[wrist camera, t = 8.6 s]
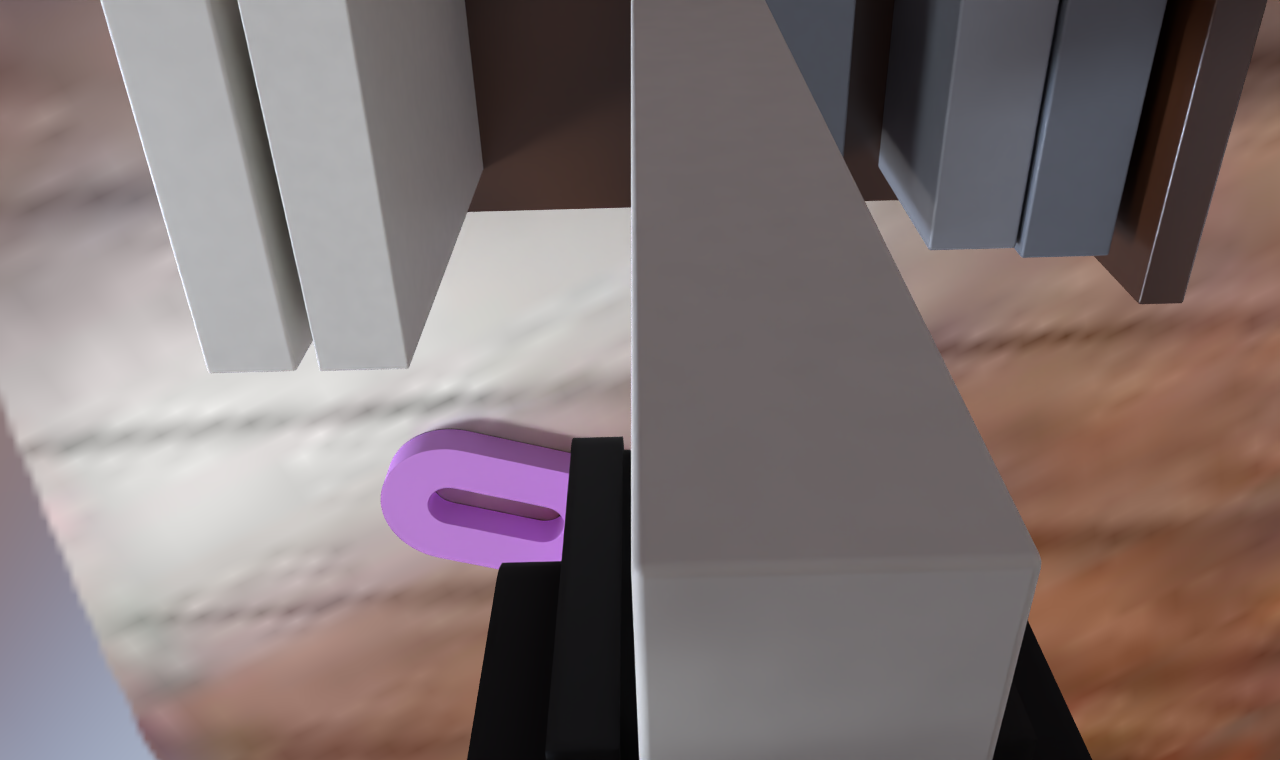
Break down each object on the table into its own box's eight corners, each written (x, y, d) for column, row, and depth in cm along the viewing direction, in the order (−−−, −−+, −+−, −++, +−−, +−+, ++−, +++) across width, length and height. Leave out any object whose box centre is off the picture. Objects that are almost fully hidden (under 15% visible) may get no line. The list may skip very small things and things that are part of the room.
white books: (454, -96, 29) (344, -12, 18) (483, 169, 34) (408, 369, 22) (300, -91, 29) (97, -4, 18) (348, 173, 34) (207, 374, 22)
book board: (1131, -179, 29) (1313, -158, 22) (1060, 183, 35) (1183, 303, 27) (241, -151, 30) (100, -120, 22) (314, 204, 35) (222, 329, 28)
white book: (759, -16, 16) (1047, 559, 5) (744, 408, 20) (879, 1219, 9) (631, -12, 16) (629, 569, 5) (643, 411, 20) (658, 1224, 9)
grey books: (1078, -134, 29) (1198, -107, 23) (1024, 168, 34) (1112, 259, 27) (731, -124, 29) (758, -94, 23) (726, 177, 34) (746, 269, 28)
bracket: (712, 483, 42) (725, 602, 36) (675, 581, 45) (681, 707, 39) (398, 416, 40) (356, 529, 34) (379, 522, 43) (338, 645, 37)
